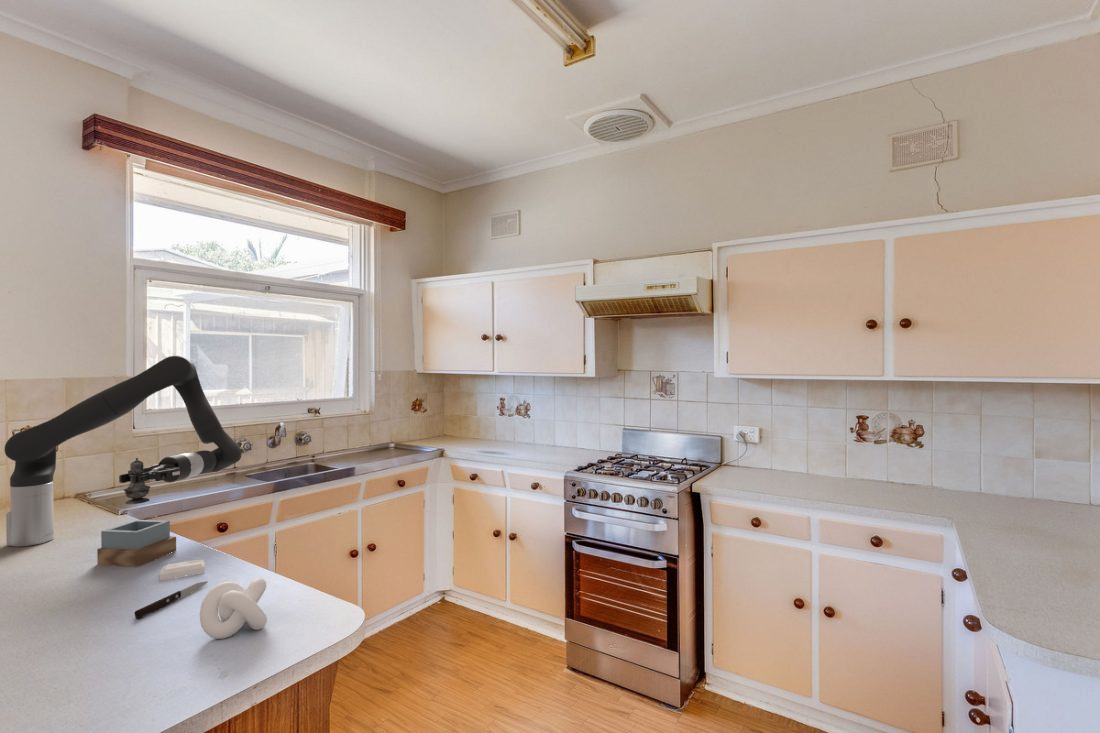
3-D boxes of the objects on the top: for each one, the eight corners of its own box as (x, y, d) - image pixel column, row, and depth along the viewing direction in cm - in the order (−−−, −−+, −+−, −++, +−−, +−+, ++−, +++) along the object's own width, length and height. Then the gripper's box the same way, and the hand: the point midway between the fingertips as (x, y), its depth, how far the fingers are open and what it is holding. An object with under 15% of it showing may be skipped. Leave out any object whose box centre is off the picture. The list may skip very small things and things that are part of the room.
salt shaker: (136, 505, 143) (135, 459, 143) (117, 503, 144) (117, 459, 144) (156, 499, 149) (155, 455, 149) (138, 498, 150) (138, 455, 150)
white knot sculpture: (229, 614, 113) (228, 571, 113) (285, 615, 112) (285, 571, 112) (191, 642, 101) (191, 594, 101) (254, 642, 101) (254, 595, 101)
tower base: (97, 566, 141) (97, 548, 141) (139, 550, 153) (139, 534, 153) (136, 568, 139) (136, 551, 139) (176, 552, 151) (176, 536, 151)
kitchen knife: (138, 621, 110) (137, 611, 110) (134, 620, 110) (133, 611, 110) (209, 585, 128) (209, 576, 128) (206, 585, 128) (206, 576, 128)
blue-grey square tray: (101, 548, 142) (101, 531, 142) (136, 535, 152) (136, 519, 152) (137, 549, 141) (136, 532, 141) (169, 537, 151) (169, 520, 151)
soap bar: (162, 575, 135) (162, 564, 135) (204, 568, 140) (204, 557, 140) (160, 582, 131) (160, 571, 131) (204, 574, 135) (204, 563, 135)
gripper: (160, 453, 162) (104, 464, 145) (202, 454, 159) (149, 466, 142) (161, 478, 162) (104, 492, 145) (202, 480, 160) (150, 494, 143)
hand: (127, 479), depth 144 cm, fingers closed on salt shaker, 3 cm apart
